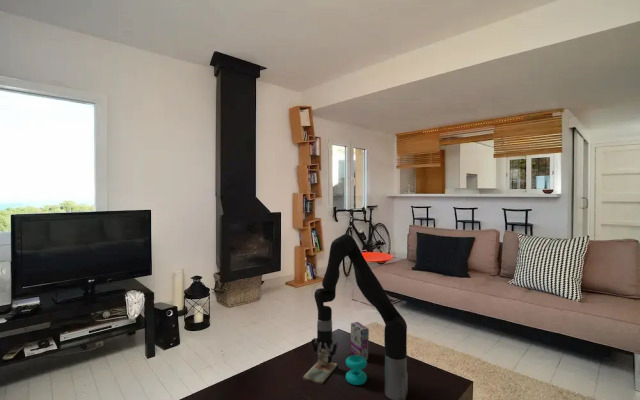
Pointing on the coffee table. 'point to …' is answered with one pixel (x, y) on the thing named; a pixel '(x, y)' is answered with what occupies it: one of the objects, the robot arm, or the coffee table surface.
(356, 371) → the donuts
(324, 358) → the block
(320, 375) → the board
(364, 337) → the candy bar box
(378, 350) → the coffee table surface
